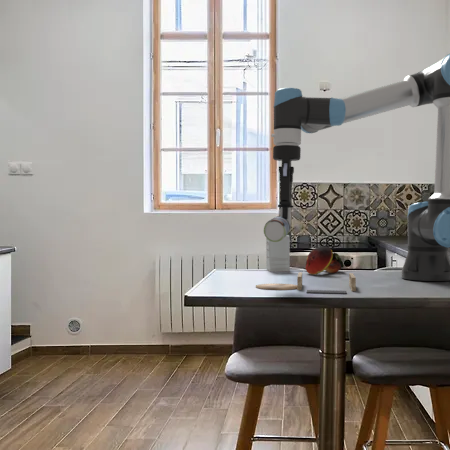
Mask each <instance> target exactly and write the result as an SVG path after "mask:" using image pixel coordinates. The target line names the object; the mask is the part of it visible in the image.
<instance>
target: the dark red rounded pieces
mask: <svg viewBox="0 0 450 450" xmlns="http://www.w3.org/2000/svg"><path fill="white" fill-rule="evenodd" d="M305 261H306V262H305V267H304V268H305V271H306V272H307V274H309V275H319V274H320V273H323V272H324V271H326V272H327V273H331V274H333V273H334V274H335V273H337V272H339V271H340V270H341V269H342V268H344V267H345V264H344V263H343V261H342V258H341V257H340V255H339V253H337V252H333V250H332V249H331V247H328V246H320V247H316V248H313V249H312V250H311V251H310V252H309V253H308V255H307V256H306V260H305Z"/></svg>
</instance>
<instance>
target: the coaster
mask: <svg viewBox="0 0 450 450" xmlns="http://www.w3.org/2000/svg"><path fill="white" fill-rule="evenodd" d="M255 288H256V289H260V290H265V291H266V290H267V291H289V290H290V291H292V290H297V284H294V283H293V284H292V283H261V284H257V285H255Z"/></svg>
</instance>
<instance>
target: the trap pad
mask: <svg viewBox="0 0 450 450" xmlns="http://www.w3.org/2000/svg"><path fill="white" fill-rule="evenodd" d="M306 294H323V295H325V294H328V295H331V294H332V295H348V292H347V290H328V289H327V290H322V289H320V290H319V289H306Z"/></svg>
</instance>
